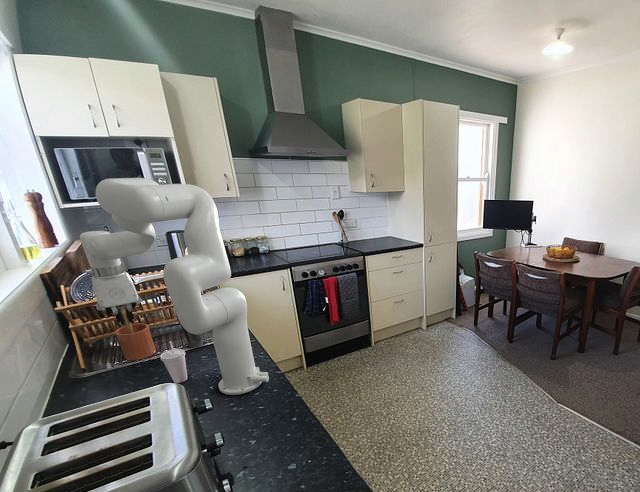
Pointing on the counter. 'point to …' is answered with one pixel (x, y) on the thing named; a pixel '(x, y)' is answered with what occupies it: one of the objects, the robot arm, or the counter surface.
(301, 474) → the counter surface
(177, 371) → the smoothie
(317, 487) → the counter surface
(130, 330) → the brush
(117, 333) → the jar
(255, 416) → the counter surface
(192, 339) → the beverage cup
